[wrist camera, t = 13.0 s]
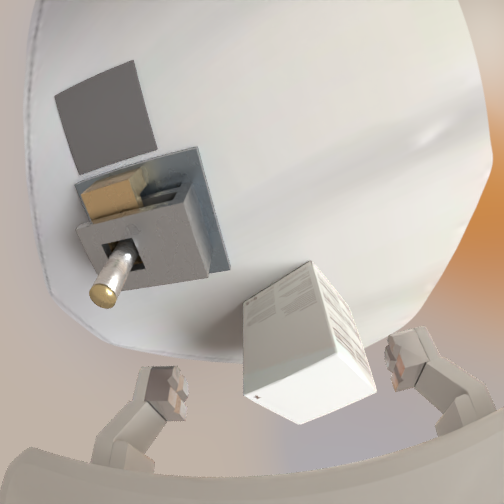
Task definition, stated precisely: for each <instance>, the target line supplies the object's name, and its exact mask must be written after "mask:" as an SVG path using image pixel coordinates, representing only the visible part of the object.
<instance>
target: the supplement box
mask: <svg viewBox="0 0 504 504" xmlns="http://www.w3.org/2000/svg"><path fill="white" fill-rule="evenodd" d="M376 392H377V390H376V386H375V383H374V380H373V376H372V373H371V370H370V367H369V364H368V360H367V358H366V354H365V351H364V348H363V345H362V342H361V339H360V336H359V333H358V330H357V327H356V324H355V321H354V319H353V316H352V313H351V310H350V308H349V306H348V305H347V303H346V302H345V301H344V299H343V298H342V297H341V296H340V294H339V293H338V292H337V291H336V289H335V288H334V287H333V286H332V284H331V283H330V282H329V281H328V279H327V278H326V277H325V276H324V274H323V273H322V272H321V271H320V270H319V268H318V267H317V266H316V265H315V264H314V262H313V261H309V262H307V263H306V264H304V265H303V266H301V267H300V268H298V269H296V270H295V271H293V272H292V273H290V274H289V275H287V276H285V277H284V278H282V279H281V280H279V281H277V282H276V283H274V284H273V285H271V286H269V287H268V288H266V289H265V290H263V291H261V292H260V293H258V294H256V295H255V296H253V297H252V298H250V299H248V300H247V301H245V302H244V303H243V396H245V397H247V398H249V399H250V400H252V401H254V402H256V403H258V404H259V405H261V406H263V407H265V408H267V409H269V410H271V411H273V412H275V413H277V414H278V415H281V416H283V417H284V418H286V419H288V420H290V421H292V422H295V423H297V424H299V425H300V424H303V423H305V422H308V421H310V420H313V419H316V418H318V417H321V416H323V415H326V414H328V413H331V412H333V411H335V410H338V409H340V408H342V407H345V406H347V405H349V404H352V403H354V402H356V401H358V400H360V399H362V398H365V397H367V396H369V395H371V394H374V393H376Z"/></svg>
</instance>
